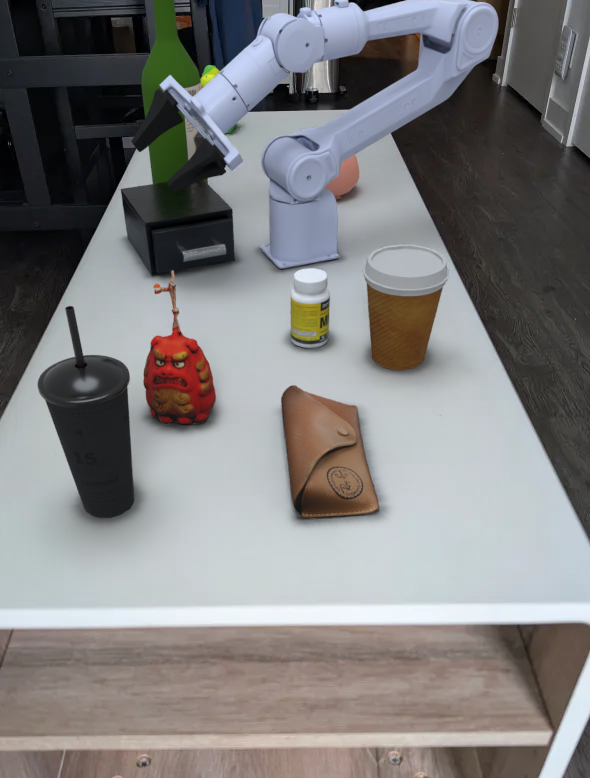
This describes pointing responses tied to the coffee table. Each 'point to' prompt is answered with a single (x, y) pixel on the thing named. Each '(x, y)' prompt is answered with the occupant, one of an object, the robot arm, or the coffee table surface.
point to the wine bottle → (161, 63)
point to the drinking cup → (92, 425)
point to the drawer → (193, 244)
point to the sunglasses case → (325, 457)
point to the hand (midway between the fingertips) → (152, 167)
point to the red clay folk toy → (178, 374)
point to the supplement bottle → (310, 308)
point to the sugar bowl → (345, 178)
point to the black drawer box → (167, 213)
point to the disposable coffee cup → (403, 302)
